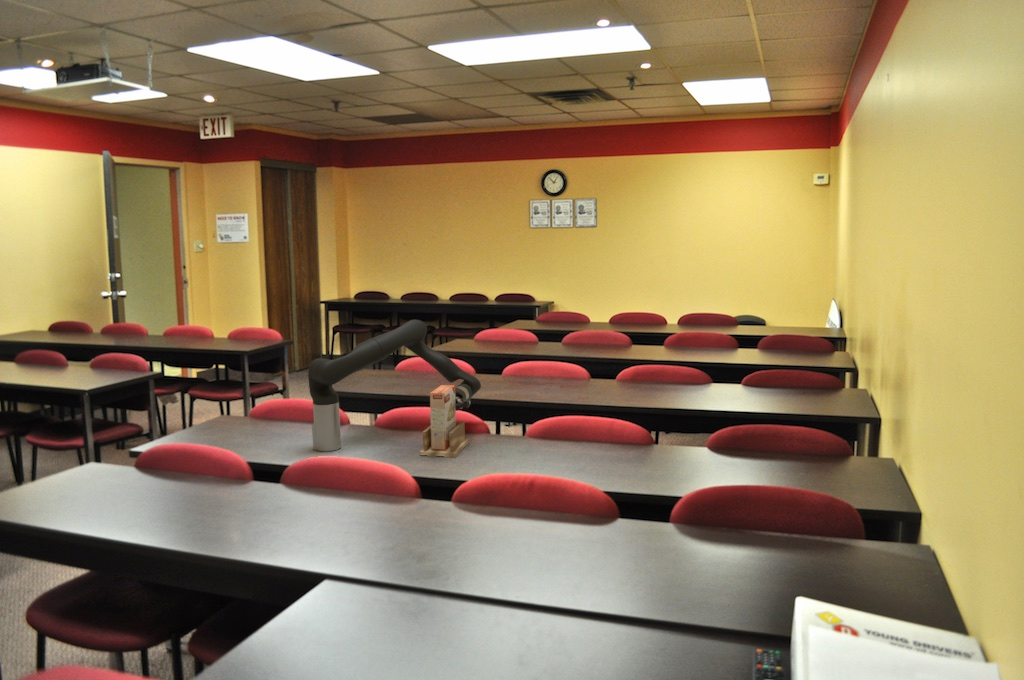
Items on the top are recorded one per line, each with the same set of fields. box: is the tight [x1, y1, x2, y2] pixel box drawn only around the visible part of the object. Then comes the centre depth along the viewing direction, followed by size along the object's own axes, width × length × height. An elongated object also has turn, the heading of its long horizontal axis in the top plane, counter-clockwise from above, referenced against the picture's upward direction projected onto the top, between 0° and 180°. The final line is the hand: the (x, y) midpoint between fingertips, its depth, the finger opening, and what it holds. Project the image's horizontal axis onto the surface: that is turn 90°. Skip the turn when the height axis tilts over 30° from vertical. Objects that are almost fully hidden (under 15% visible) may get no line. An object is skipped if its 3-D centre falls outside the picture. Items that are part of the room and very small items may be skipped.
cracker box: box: [429, 384, 457, 450], centre depth 279 cm, size 14×6×21 cm, turn 168°
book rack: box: [419, 420, 469, 458], centre depth 280 cm, size 13×18×8 cm
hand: (445, 407), depth 280 cm, fingers open, 8 cm apart
